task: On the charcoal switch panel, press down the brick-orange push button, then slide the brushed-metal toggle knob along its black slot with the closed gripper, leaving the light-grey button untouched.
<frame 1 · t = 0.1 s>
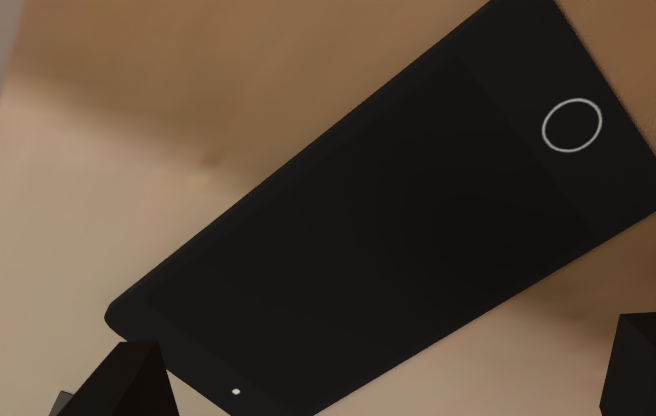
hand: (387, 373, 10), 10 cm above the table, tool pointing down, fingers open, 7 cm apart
cell phone: (368, 243, 21), on the table
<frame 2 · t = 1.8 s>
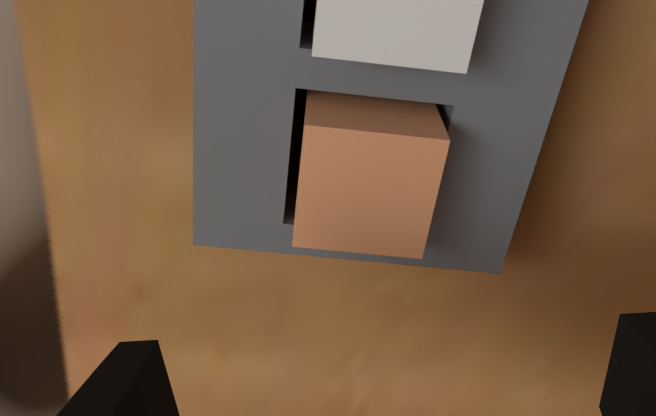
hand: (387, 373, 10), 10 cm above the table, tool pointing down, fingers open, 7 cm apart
orange button: (364, 173, 16), point 3 cm above the table, slide at 0.0 cm
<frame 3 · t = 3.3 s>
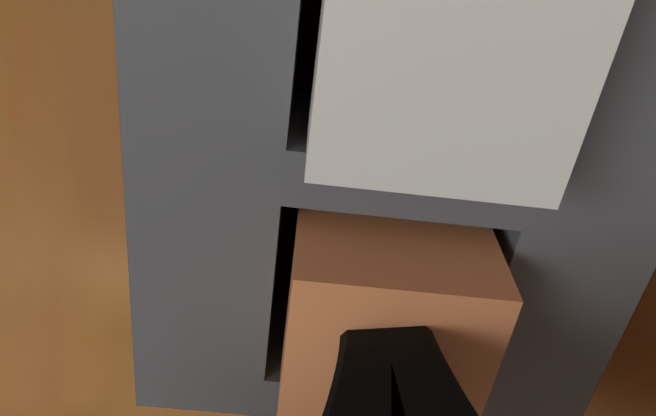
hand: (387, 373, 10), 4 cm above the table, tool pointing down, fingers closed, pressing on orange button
orange button: (383, 323, 11), point 3 cm above the table, slide at 0.0 cm, touching gripper
grey button: (445, 42, 8), point 3 cm above the table, slide at 0.0 cm
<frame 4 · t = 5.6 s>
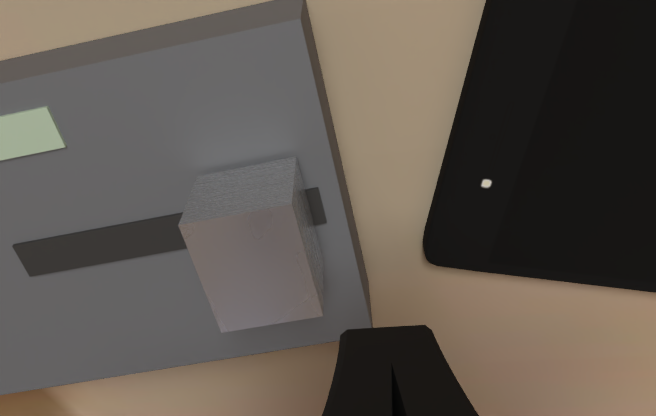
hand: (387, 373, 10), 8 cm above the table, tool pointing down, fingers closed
toggle knob: (258, 244, 14), point 4 cm above the table, slide at 0.0 cm
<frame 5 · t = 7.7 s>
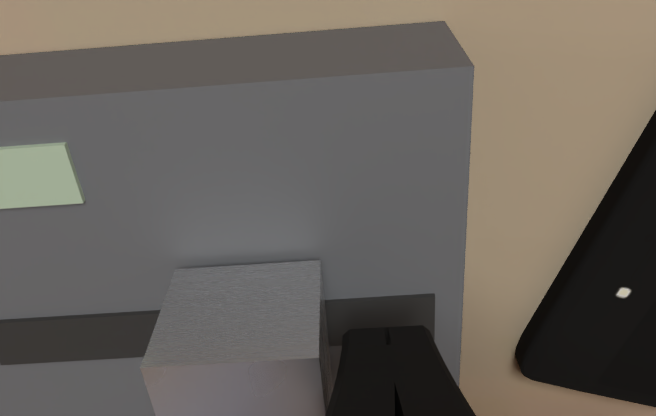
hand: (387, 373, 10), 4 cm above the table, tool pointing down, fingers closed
toggle knob: (253, 380, 10), point 4 cm above the table, slide at 1.6 cm, touching gripper
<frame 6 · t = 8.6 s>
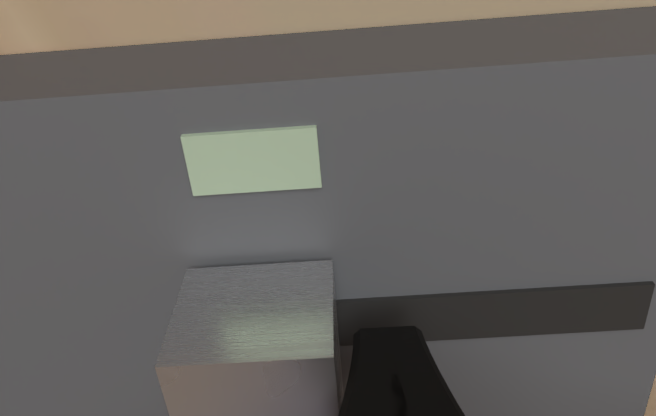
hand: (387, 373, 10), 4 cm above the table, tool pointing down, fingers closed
toggle knob: (265, 380, 10), point 4 cm above the table, slide at 5.1 cm, touching gripper
switch panel: (57, 260, 13), on the table
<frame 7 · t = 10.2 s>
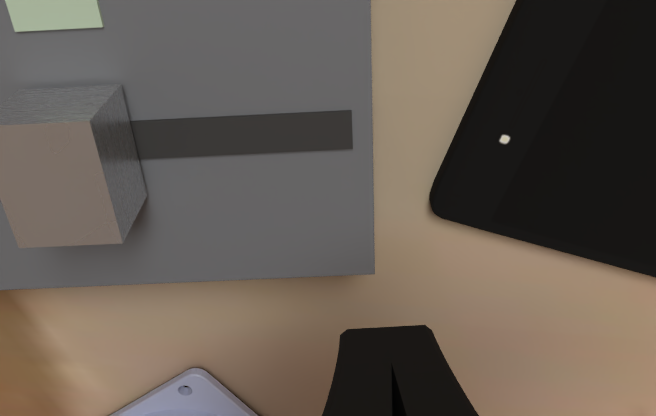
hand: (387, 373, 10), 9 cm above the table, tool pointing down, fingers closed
toggle knob: (70, 165, 14), point 4 cm above the table, slide at 5.1 cm
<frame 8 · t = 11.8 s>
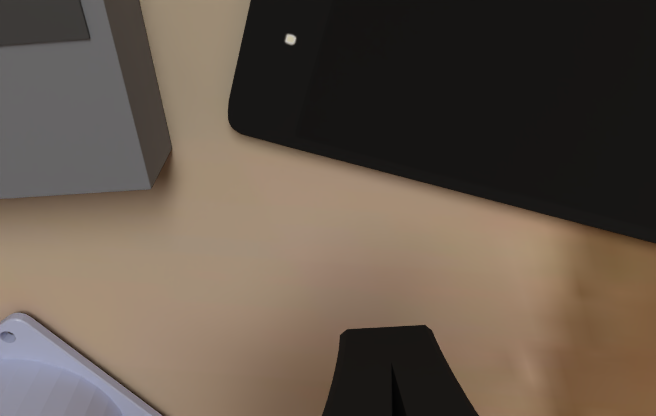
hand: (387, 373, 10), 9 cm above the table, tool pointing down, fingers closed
cell phone: (569, 58, 17), on the table
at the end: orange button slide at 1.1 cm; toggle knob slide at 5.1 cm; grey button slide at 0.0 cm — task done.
